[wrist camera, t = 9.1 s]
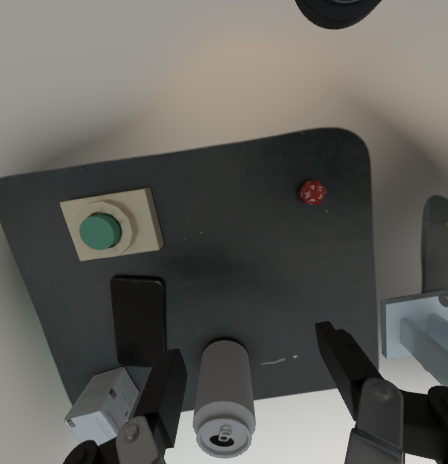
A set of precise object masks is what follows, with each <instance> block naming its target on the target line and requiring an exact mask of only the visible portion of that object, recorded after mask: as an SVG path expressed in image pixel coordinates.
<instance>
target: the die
mask: <svg viewBox="0 0 448 464" xmlns="http://www.w3.org/2000/svg"><path fill="white" fill-rule="evenodd" d="M326 192H327V191H326V189H325V188H324V187H323V186H322V185H321V184H320V183H319V182H318V181H305V182H304V184H303V186H302V187H301V189H300V191H299V193H298V196H299V197H300V198H301V199H302V200H303V202H304V203H306V204H314V205H319V204H320V202H321V200H322V199H323V197H324V196H325V194H326Z"/></svg>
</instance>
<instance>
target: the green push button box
mask: <svg viewBox="0 0 448 464" xmlns="http://www.w3.org/2000/svg"><path fill="white" fill-rule="evenodd" d="M60 205H61V208H62V211H63V214H64V217H65V220H66V222H67V225H68V228H69V231H70V234H71V236H72V239H73V242H74V245H75V248H76V251H77V253H78V256H79V259H80V261H84V260H91V259H98V258H107V257H114V256H119V255H126V254H133V253H140V252H147V251H154V250H160V248H161V247H162V246H163V245H164V243H163V238H162V234H161V230H160V226H159V222H158V218H157V214H156V209H155V205H154V201H153V197H152V193H151V189H150V188H144V189H137V190H131V191H125V192H119V193H112V194H106V195H100V196H94V197H87V198H81V199H75V200H69V201H64V202H60ZM97 214H107V215H110V216H112V217H113V218H114V219H115V220H116V221H117V222H118V223H119V225H120V229H121V235H120V238H119V240H118V241H117V242H116V243H114V244H113V245H111V246H110V247H108V248H107V249H104V250H95V249H92V248H90V247H88V246H87V245H86V244H85V243H84V242H83V241H82V239H81V237H80V233H79V229H80V225H81V223H82V222H83V221H84V220H85V219H86V218H88V217H91V216H94V215H97Z"/></svg>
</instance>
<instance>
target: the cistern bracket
mask: <svg viewBox="0 0 448 464" xmlns="http://www.w3.org/2000/svg"><path fill="white" fill-rule="evenodd" d="M444 294H448V291H446V290H439V291H433V292H427V293H421V294H415V295H409V296H402V297H396V298H391V299H385V300H381V330H382V331H381V332H382V354H383V356H385V358H386V359H387V360H388V359H396V358H402V357H409V356H414V357H415V358H416V359H417V360H418V361H419V362H420V363H421V364H422V365H423V366H424V367H425V368H426V369H427V370H428V371H429V372H430V373H431V374H432V375H433V377H434V378H435V379H436V380H437V381H438V382H439V383H440V384H441V385H442V386H447V387H448V307H444V306H442V305H441V304H440V302H439V299H438V297H439V296H440V295H444Z"/></svg>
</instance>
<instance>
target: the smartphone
mask: <svg viewBox="0 0 448 464" xmlns="http://www.w3.org/2000/svg"><path fill="white" fill-rule="evenodd" d="M110 289H111V299H112V310H113V320H114V330H115V340H116V351H117V360H118V363H119V364H121V365H124V366H138V367H154V366H155V365H156V363H157V362H161V361H162V358H163V355H164V353H165V351H166V339H165V291H164V283H163V281H162V280H160V279H156V278H140V277H123V276H116V277H113V278H112V279H111V281H110Z"/></svg>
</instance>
